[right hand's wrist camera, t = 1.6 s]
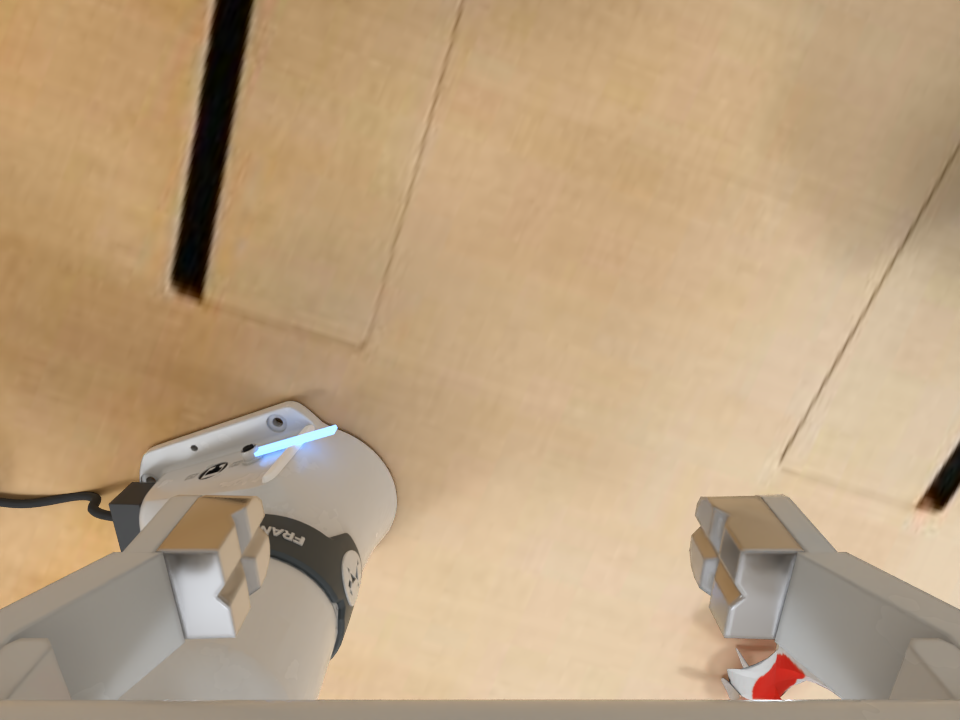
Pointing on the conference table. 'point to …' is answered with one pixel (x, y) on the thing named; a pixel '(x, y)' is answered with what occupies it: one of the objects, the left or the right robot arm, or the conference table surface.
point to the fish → (767, 677)
